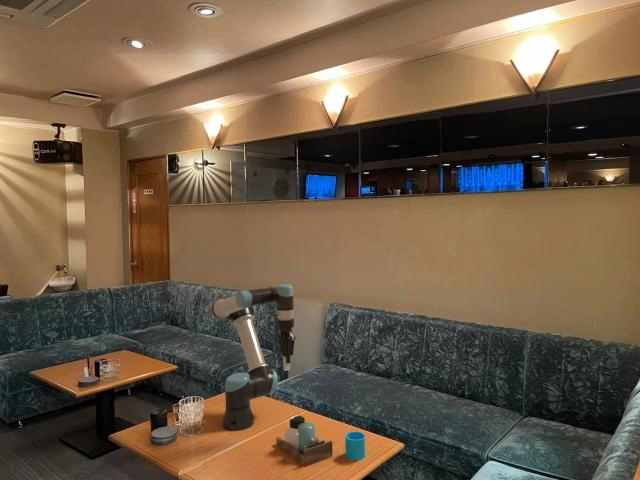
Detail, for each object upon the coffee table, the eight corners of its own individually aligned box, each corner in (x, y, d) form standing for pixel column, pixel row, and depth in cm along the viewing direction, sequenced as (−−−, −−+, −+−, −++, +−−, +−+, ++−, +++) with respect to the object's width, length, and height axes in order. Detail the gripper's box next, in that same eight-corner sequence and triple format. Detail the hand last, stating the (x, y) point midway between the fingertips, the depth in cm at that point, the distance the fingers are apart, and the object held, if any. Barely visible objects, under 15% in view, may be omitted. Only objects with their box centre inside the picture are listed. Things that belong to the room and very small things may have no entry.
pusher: (304, 460, 185) (304, 440, 185) (323, 453, 190) (322, 434, 190) (306, 461, 184) (305, 442, 184) (324, 454, 189) (324, 435, 189)
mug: (364, 461, 184) (363, 441, 184) (344, 459, 186) (343, 439, 185) (367, 447, 196) (367, 428, 195) (348, 445, 197) (348, 426, 197)
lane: (276, 444, 200) (276, 430, 200) (302, 435, 208) (302, 422, 207) (305, 466, 181) (304, 451, 181) (332, 456, 189) (332, 441, 188)
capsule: (295, 455, 190) (294, 427, 189) (305, 448, 195) (304, 421, 195) (309, 460, 186) (308, 431, 185) (319, 453, 191) (318, 424, 191)
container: (310, 446, 198) (309, 416, 197) (298, 453, 191) (297, 422, 191) (296, 441, 202) (296, 412, 202) (285, 448, 196) (284, 418, 196)
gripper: (271, 317, 212) (272, 368, 213) (285, 322, 201) (287, 375, 202) (285, 315, 216) (286, 365, 217) (300, 319, 206) (301, 371, 206)
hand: (286, 369), depth 210 cm, fingers closed
